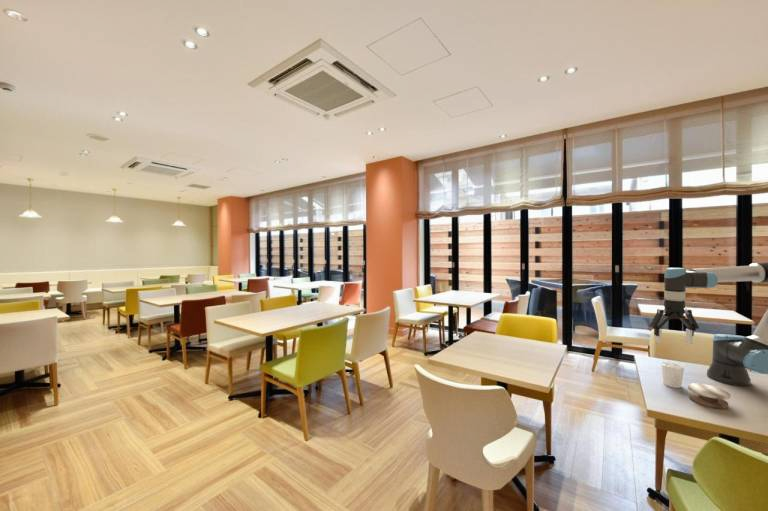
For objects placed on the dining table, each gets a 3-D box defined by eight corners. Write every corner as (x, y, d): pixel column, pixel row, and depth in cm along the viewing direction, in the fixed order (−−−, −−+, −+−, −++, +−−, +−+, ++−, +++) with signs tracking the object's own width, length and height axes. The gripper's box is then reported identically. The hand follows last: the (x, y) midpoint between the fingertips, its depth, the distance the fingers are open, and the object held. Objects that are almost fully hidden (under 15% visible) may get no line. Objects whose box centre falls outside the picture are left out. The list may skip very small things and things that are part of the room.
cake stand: (711, 395, 145) (711, 383, 144) (739, 410, 132) (739, 398, 131) (679, 394, 146) (680, 382, 146) (704, 408, 133) (705, 396, 133)
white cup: (687, 389, 150) (688, 369, 150) (668, 388, 152) (669, 367, 152) (675, 382, 158) (676, 362, 158) (657, 380, 160) (658, 361, 159)
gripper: (696, 298, 155) (694, 340, 156) (641, 298, 158) (640, 339, 159) (710, 301, 148) (708, 345, 149) (652, 301, 151) (651, 344, 152)
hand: (673, 342), depth 154 cm, fingers open, 13 cm apart
